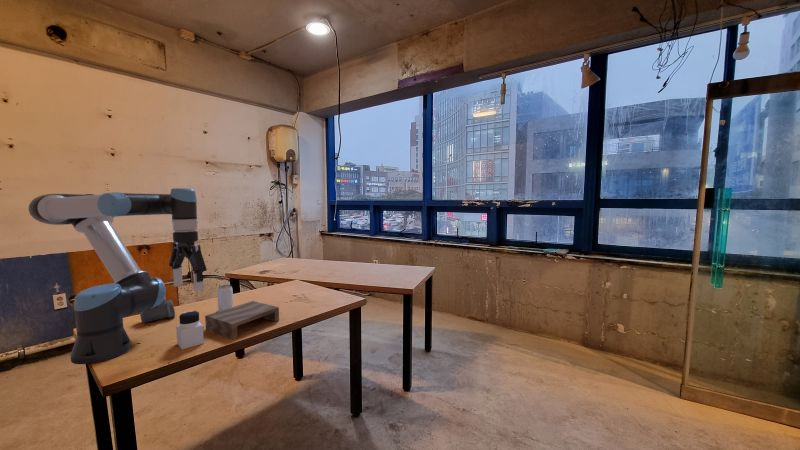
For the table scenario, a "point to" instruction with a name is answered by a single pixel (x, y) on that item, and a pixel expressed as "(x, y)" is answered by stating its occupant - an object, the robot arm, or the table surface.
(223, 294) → the can
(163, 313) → the pipe fitting
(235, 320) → the shelf stand
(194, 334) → the medicine bottle
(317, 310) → the table surface
